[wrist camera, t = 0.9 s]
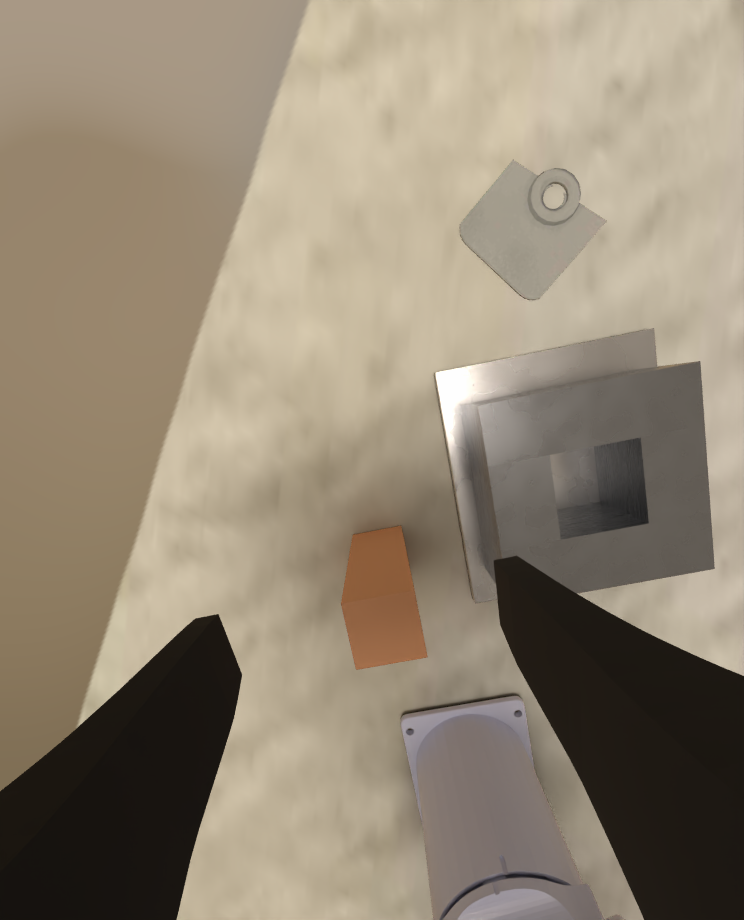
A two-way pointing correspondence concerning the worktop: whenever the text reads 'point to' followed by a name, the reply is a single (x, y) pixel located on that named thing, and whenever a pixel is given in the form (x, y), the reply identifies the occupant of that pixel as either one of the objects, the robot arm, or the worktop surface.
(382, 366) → the worktop surface
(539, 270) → the mounting bracket
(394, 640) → the tan rectangular block
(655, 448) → the slotted block
